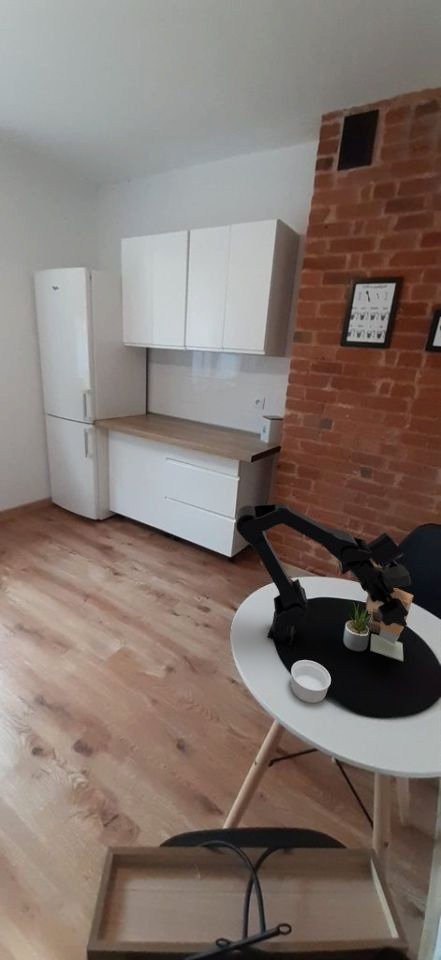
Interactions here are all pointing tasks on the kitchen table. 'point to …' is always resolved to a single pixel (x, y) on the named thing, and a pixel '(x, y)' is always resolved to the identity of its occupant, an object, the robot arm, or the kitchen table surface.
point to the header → (373, 614)
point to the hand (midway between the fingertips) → (400, 616)
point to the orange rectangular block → (394, 629)
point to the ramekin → (309, 681)
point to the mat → (386, 647)
